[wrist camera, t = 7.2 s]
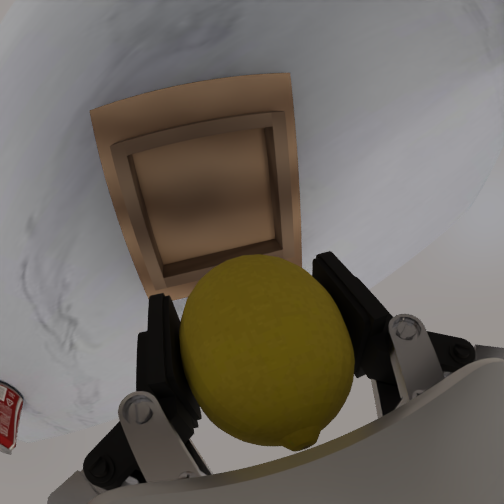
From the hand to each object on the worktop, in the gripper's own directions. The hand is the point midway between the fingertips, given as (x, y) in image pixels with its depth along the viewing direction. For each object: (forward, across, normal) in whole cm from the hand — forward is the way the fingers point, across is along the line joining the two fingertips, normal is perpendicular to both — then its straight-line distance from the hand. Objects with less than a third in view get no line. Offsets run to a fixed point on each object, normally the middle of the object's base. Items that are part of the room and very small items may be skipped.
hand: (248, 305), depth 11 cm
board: (+14, 0, 0) cm, 14 cm away
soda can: (+14, +43, +23) cm, 51 cm away
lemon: (+2, 0, 0) cm, 2 cm away
